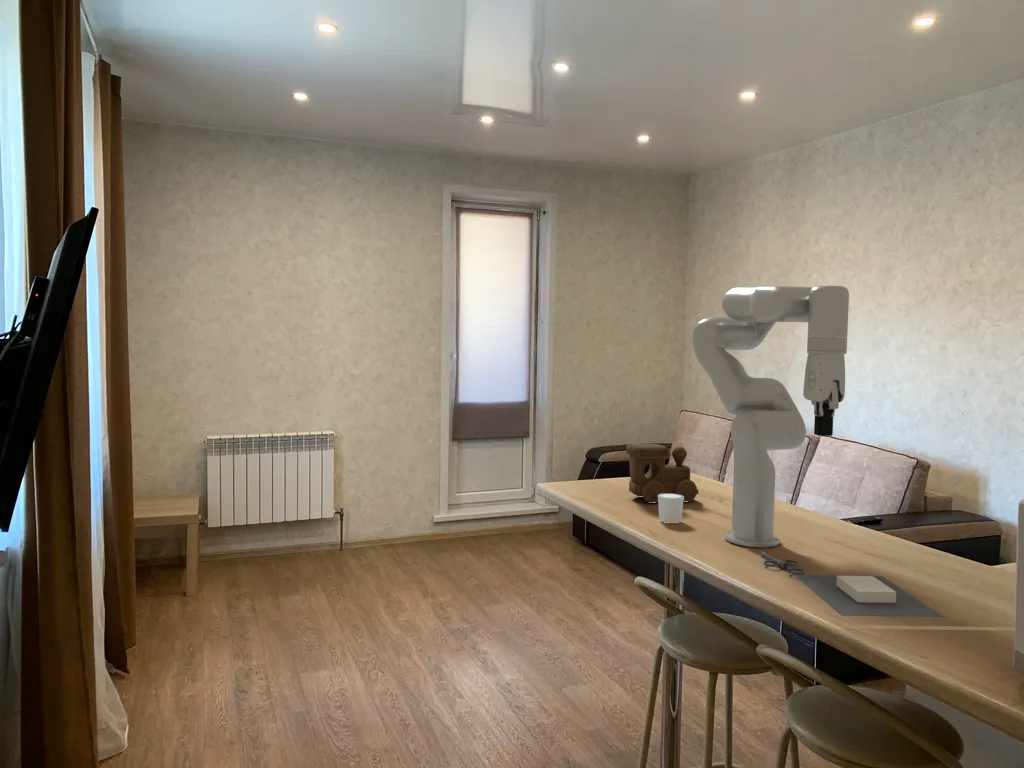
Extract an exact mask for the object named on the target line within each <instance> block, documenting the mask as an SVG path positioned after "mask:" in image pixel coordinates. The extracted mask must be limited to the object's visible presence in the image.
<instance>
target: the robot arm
mask: <svg viewBox="0 0 1024 768" xmlns="http://www.w3.org/2000/svg"><path fill="white" fill-rule="evenodd" d="M849 302H850V291H849V289H848V288H847V287H846V286H843V285H817V286H814V287H811V286H808V287H807V286H786V285H785V286H780V285H779V286H778V285H777V286H773V285H752V286H751V285H748V286H746V285H745V286H737V287H733V288H731V289H730V290H728V291H727V292H726V293H725V294H724V295H723V298H722V300H721V308H722V310H723V312H724V314H725V317H724V316H722V317H721V316H714V317H713V316H712V317H707V318H704V319H701V320H700V321H698V322H697V323H696V325H695V326H694V328H693V331H692V346H693V352H694V354H695V357H696V359H697V361H698V363H699V364H700V366H701V367H702V368H703V370H704V371H705V372H706V373H707V375H708V376H709V378H710V380H711V382H712V384H713V386H714V389H715V391H716V392H717V395H718V396H719V399H720V401H721V403H722V405H723V406H724V408H725V410H726V411H727V412H728V413H729V414H731V415H732V416H735V417H733V419H732V420H731V425H730V434H731V435H730V436H731V440H732V441H731V442H732V450H733V486H732V487H733V488H732V491H733V492H732V493H733V494H732V516H731V517H732V520H731V521H732V522H731V530H728V531H726V532H725V534H724V538H725V540H726V541H728V542H729V543H732V544H735V545H738V546H743V547H748V548H772V547H773V548H774V547H777V546H778V545H780V541H781V538H780V537H779V536H778V535H776V534H775V533H774V525H775V524H774V521H775V519H774V518H775V498H776V497H775V496H776V495H775V494H776V467H775V464H774V462H773V460H772V458H771V457H770V455H769V454H768V451H775V450H777V451H778V450H779V451H780V450H794V449H798V448H799V447H801V446H802V445H803V444H804V442H805V441H806V437H807V428H806V424H805V421H804V418H803V416H802V415H801V412H800V411H799V409H798V407H797V405H796V404H795V402H794V400H793V398H792V397H791V394H790V393H789V391H788V390H787V388H786V386H785V385H784V384H783V383H782V382H781V381H779V380H777V379H775V378H771V377H770V378H769V377H752V376H750V375H749V374H748V373H747V371H746V370H745V367H744V366H743V364H742V363H741V362H740V361H739V360H738V359H737V357H735V356H734V355H732V354H731V353H729V352H728V350H729V351H750V350H754V349H755V348H757V347H758V346H760V345H761V343H762V342H763V341H764V340H765V338H766V337H767V335H769V332H770V331H771V330H772V329H773V327H774V326H775V324H776V323H807V342H806V343H807V344H806V345H807V346H806V353H807V357H806V363H805V369H804V370H805V372H804V381H803V393H802V394H803V397H804V399H806V400H808V401H810V402H811V405H813V414H814V424H813V425H814V427H813V435H816V436H818V437H819V436H821V437H823V436H824V437H832V436H833V435H834V417H835V412H836V410H838V409H839V407H840V404H839V403H841V402H843V400H844V399H845V394H846V360H845V359H846V358H845V355H846V354H847V353H848V352H847V351H848V330H849V329H848V328H849V307H850V306H849V305H850V303H849Z"/></svg>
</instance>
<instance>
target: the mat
mask: <svg viewBox="0 0 1024 768" xmlns="http://www.w3.org/2000/svg"><path fill="white" fill-rule="evenodd" d="M794 576H795V577H796V578H797V579H798V580H799V581H801V583H803V584H804V585H805V586H807V588H809V589H810V590H811V591H812V592H813V593H815V594H816V595H817V596H818V597H819V598H820V599H822V600H823V601H824V603H825V602H826V603H827V605H829V606H830V607H831V608H832V609H834V611H835V612H837V613H838V614H839V615H840V616H841V617H842V616H845V617H846V616H848V617H849V616H850V617H851V616H855V617H859V616H860V617H862V616H863V617H866V616H867V617H917V618H918V617H920V618H921V617H929V618H931V617H933V618H944V615H942V614H941V613H939V612H938V611H936V610H935V609H933V608H931V607H930V606H928V605H927V604H925V603H924V602H922V601H920V600H919V599H918V598H916V597H914V596H913V595H911V594H910V593H908V592H907V591H905V590H904V589H903V588H901V587H900V586H898V585H896V584H895V583H893V582H892V581H891V580H889V579H887V578H885V577H884V576H883V575H872V576H873V577H875V578H876V579H878V580H879V581H881V582H882V583H884V584H885V585H887V586H888V587H890V588H891V589H893V590H894V591H896V603H893V604H880V603H858V602H856V601H855V600H854V599H852V598H851V597H850V596H849V595H847V594H846V593H845V592H843V591H842V590H841V589H840V588H839V587H837V586H836V584H837V576H838V575H832V574H831V575H830V574H829V575H825V574H824V575H823V574H822V575H820V574H817V575H815V574H802V575H796V574H794Z"/></svg>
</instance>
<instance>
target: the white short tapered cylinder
mask: <svg viewBox="0 0 1024 768" xmlns="http://www.w3.org/2000/svg"><path fill="white" fill-rule="evenodd" d="M683 502H684V496H682V495H679V494H672V493H663V494H659V495H658V503H657V504H658V516H659V517H658V518H659V519H660V520H661V521H665V522H680V521H681V522H682V518H683V510H684V509H683V508H684V503H683Z"/></svg>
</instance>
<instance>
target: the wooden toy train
mask: <svg viewBox="0 0 1024 768" xmlns="http://www.w3.org/2000/svg"><path fill="white" fill-rule="evenodd" d="M625 450H626V452H625V453H626V454H627V455H629V459H628V460H629V475H630V480H629V481H628V491H629V492H630V493H631V494H633V495H634V494H635V495H637V496H643V497H642V498H643V501H645V502H646V503H647V502H658V495H659V494H663V493H672V494H679V495H682V496H684V501H690V502H692V501H694V499H695V498H696V496H697V495H699V489H698V487H697V485H696V483H695V481H693V480H691V467H689V466H688V465H685V464H684V462H685V460H686V458H687V456H688V452H687V450H686V449H685V447H684V446H675V447H674V449H673V450H672V451H671V456H672V459H673V460H674V462H675V464H666V459H668V458H669V457H670V456H669V455H670V454H669V453H670V448H668V447H666V446H665V445H662V444H657V443H632V444H626V448H625ZM648 465H649V468H648V471H647V472H646V473H645V468H646V467H647V466H648ZM635 495H634V496H635ZM637 496H636V497H637ZM691 500H692V501H691Z"/></svg>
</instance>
